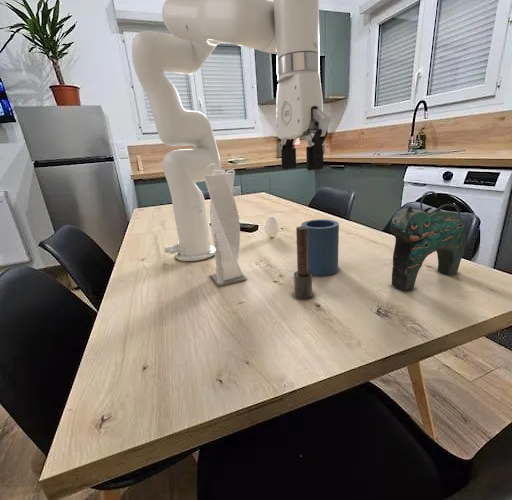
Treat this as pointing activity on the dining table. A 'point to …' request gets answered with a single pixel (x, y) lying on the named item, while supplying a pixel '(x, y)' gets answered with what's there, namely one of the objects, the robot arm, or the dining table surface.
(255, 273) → the dining table surface
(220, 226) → the skyscraper
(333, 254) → the blue pipe segment
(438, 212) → the ceramic cat
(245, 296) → the dining table surface
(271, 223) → the egg
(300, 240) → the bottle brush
